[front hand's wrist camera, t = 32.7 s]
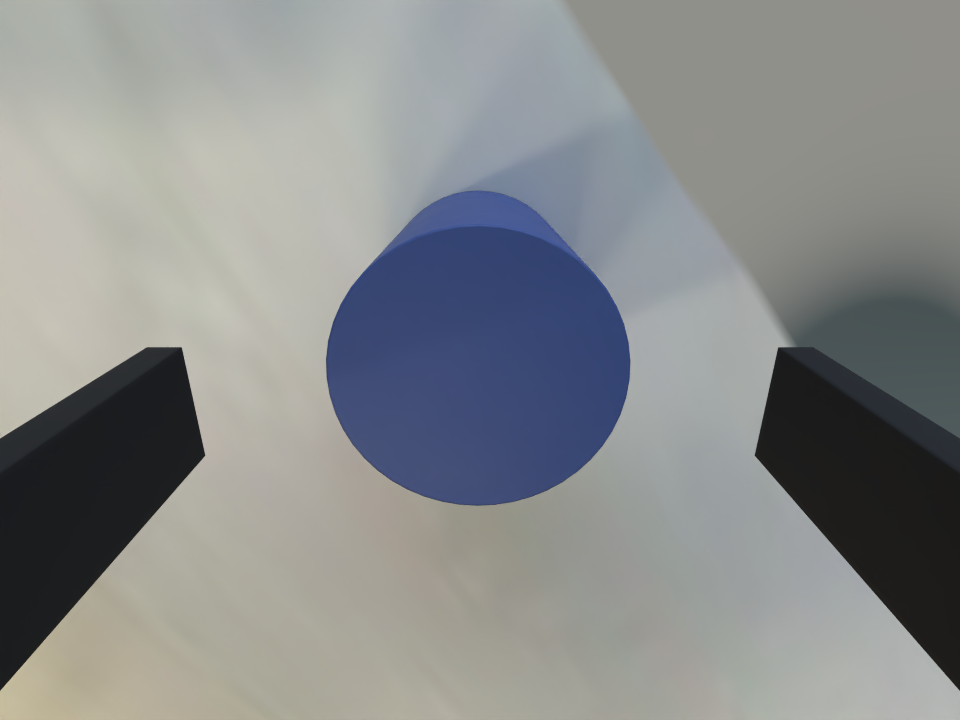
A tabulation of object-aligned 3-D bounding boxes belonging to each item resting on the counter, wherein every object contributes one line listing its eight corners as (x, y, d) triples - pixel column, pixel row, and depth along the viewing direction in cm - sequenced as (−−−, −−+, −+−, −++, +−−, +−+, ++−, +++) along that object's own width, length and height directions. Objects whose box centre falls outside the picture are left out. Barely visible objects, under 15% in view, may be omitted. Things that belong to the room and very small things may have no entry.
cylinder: (507, 394, 26) (525, 547, 16) (358, 314, 25) (277, 427, 15) (602, 251, 24) (693, 327, 14) (443, 153, 22) (415, 157, 12)
